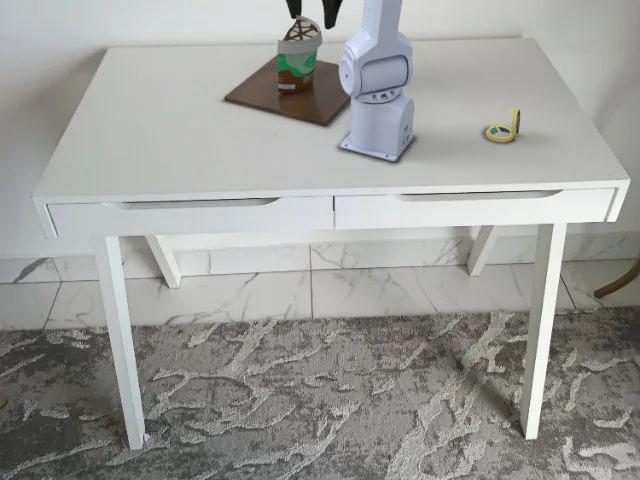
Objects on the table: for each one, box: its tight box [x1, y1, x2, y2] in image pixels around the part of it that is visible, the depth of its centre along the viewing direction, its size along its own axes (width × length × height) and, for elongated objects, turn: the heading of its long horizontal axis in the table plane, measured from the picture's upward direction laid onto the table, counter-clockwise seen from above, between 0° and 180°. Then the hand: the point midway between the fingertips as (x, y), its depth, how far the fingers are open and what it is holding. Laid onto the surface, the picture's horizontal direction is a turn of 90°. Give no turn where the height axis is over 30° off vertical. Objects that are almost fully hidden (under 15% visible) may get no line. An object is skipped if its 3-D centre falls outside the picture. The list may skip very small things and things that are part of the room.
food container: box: [276, 15, 323, 93], centre depth 116 cm, size 12×6×10 cm, turn 166°
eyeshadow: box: [485, 107, 521, 143], centre depth 105 cm, size 4×5×5 cm
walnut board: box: [224, 54, 351, 127], centre depth 119 cm, size 20×20×1 cm
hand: (312, 22), depth 116 cm, fingers open, 7 cm apart
